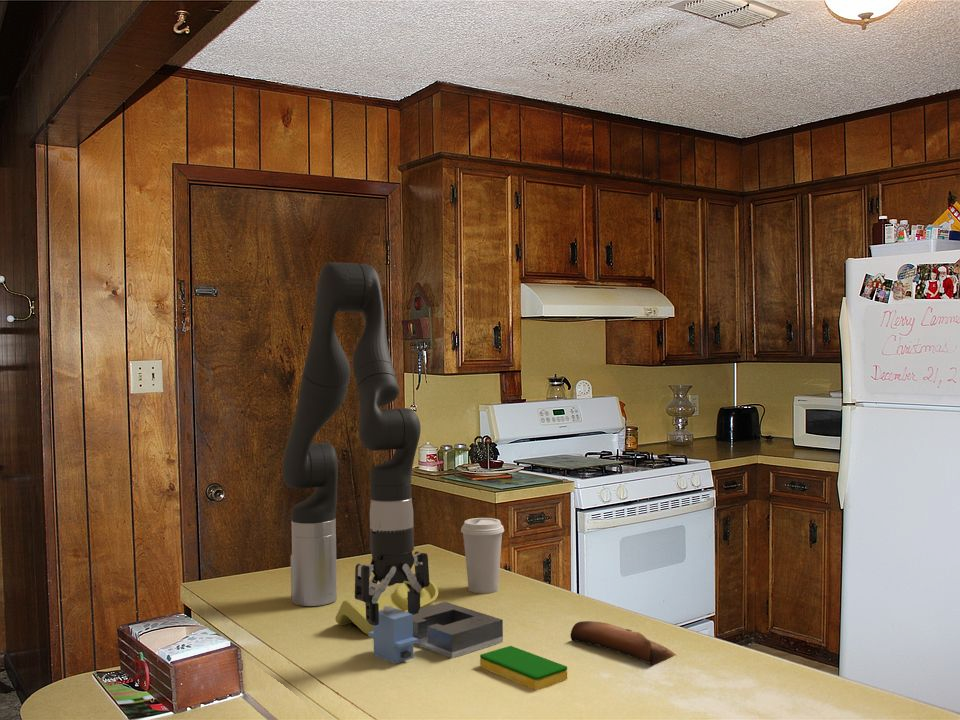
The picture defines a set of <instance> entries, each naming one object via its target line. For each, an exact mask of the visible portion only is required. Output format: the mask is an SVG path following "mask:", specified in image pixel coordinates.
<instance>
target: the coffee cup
mask: <svg viewBox="0 0 960 720" xmlns="http://www.w3.org/2000/svg"><path fill="white" fill-rule="evenodd" d="M460 532H461V534H462V536H463V547H464V553H465V554H464V555H465V556H464V557H465V565H466V566H465V567H466V575H467V576H466V577H467V587H468V591H469V592H470V591H471V593H473V592H474V594H491V592H492V593H495V591H496V592H498V590H499V582H500V581H499V580H500V568H501V567H500V566H501V554H502V552H501V551H502V540H503V539H502V538H503V533H504V532H505V528H504V525H502V522H501V520H500V519H498V518H491V517H476V518H474V517H473V518H469V519H466V520H464V522H463V525H461V528H460Z"/></svg>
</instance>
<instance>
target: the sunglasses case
mask: <svg viewBox="0 0 960 720" xmlns="http://www.w3.org/2000/svg"><path fill="white" fill-rule="evenodd" d="M570 639H571V641H575V642H581V643H585V644H590V645H593V646H599V647H602V648H604V649H607V650H610V651H614V652H616V653H617V652H618V653H619V654H621V655H625V656H629V657H631V658H635V659H637V660H641V661H643V662H645V663H648V664H650V666H655V665H659V663H662V662H665V661H666V660H668V659H669V660H670V659H671V658H673V657H675V656H677V654H675V652H673V650H670V649H669V648H668V647H666V646H664V645H662V644H660V643H658V642H656V641H653V640H650V639H648V638H647V637H646V636H645V635H644V634H642V633H641V632H639V631H633V630H632V629H629V628H623V627H620V626H617V625H614V624H611V623H606V622H603V621H602V622H601V621H595V620H593V621H592V620H584V621H578V622H576V623H575V624H574V625H573V626H572V628H571V630H570Z"/></svg>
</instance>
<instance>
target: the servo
mask: <svg viewBox="0 0 960 720" xmlns="http://www.w3.org/2000/svg"><path fill="white" fill-rule="evenodd" d="M367 636H368V637H370V638H372V639H373V656H376V657H377V658H380V659H382V660H385V661H387V662H389V663H392V664H398V663H401V662H404V661H407V660H411V659H414V645H416V644H415V643H419V639H417V638H414V637H413V614H410V613H407V612H405V611H402V610H399V609H396V608H393V607H392V606H384V607H383V609H382V610H379V624H378V625H375V626H374V625H373V631H372V632H368V634H367Z"/></svg>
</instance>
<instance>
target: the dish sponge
mask: <svg viewBox="0 0 960 720" xmlns="http://www.w3.org/2000/svg"><path fill="white" fill-rule="evenodd" d="M479 657H480V660H479V666H480V668H481V669H484V670H487V671H488V672H490V673H491V672H492V673H494V674H497V675H498V676H501V677H504V678H506V679H508V680H511V681H513V682H515V683H518V684H520V685H523V686H526V687H527V686H528V688H529V689H532V690H537V691H538V689H539V690H542V689H544V688H548V687H549V685H550V686H552V684H553V685H555V684H558V683H561V682H564V681H567V680H568V666H566V665H565V664H561V663H558V662H556V661H554V660H550V659H548V658H545V657H543V656H540V655H537V654H534V653H531V652H529V651H526V650H523V649H520V648H518V647H515V646H513V645H509V646H504V647H502V648H498V649H495V650H491V651H488V652H484V653H481V654H480V655H479ZM566 679H567V680H566ZM563 680H564V681H563ZM557 682H558V683H557ZM541 688H542V689H541Z"/></svg>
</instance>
